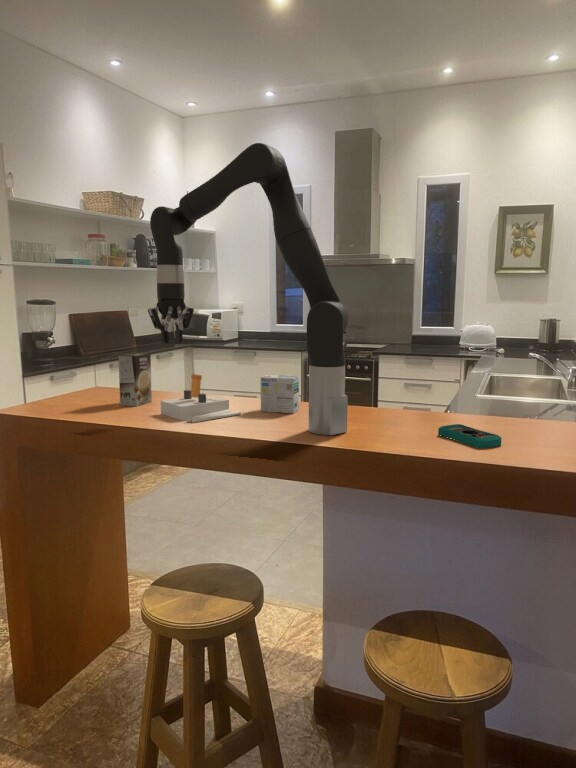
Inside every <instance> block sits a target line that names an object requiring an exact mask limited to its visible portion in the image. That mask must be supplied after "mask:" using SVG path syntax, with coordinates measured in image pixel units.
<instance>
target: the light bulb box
mask: <svg viewBox="0 0 576 768" xmlns="http://www.w3.org/2000/svg"><path fill="white" fill-rule="evenodd" d="M299 409H300V376H299V375H287V374H286V375H285V374H265V375H262V376H260V412H261V411H267V412H266V413H276V412H282V413H281V414H295V413H296V412H297V411H299Z"/></svg>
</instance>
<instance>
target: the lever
mask: <svg viewBox="0 0 576 768" xmlns="http://www.w3.org/2000/svg"><path fill="white" fill-rule="evenodd" d="M202 378H203V377H202V375H201V374H197V373H195V374H193V373H192V374H191V386H190V387H191V388H190V391H191V397H195V398H198V394H201V385H202V383H201V382H202V380H203V379H202Z"/></svg>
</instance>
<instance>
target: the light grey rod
mask: <svg viewBox="0 0 576 768" xmlns="http://www.w3.org/2000/svg"><path fill="white" fill-rule="evenodd" d="M241 415H242V412H241V410H237V411H230V412H229V413H223V414H217V415H210V416H204V417H198V418H192V423H194V424H195V423H201V422H205V421H211V420H216V419H217V420H218V419H223V418H230V417H235V416H241Z"/></svg>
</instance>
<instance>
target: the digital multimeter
mask: <svg viewBox="0 0 576 768" xmlns="http://www.w3.org/2000/svg"><path fill="white" fill-rule="evenodd" d="M437 430H438V433H437V435H438V436H439V435H441V436H440V437H442V436H444V437H443V438H445V437H448V438H452V439H455V440H458V441H460V442H459V443H461V442H463V443H462V444H464V443H466V444H465V445H467V444H469V445H468V446H470V445H471V446H470V447H473V446H474V448H476V447H477V449H489V447H490V448H495V446H496V447H500V446H502V436H500V435H498V434H495V433H492V432H488V431H484V430H480V429H478V428H473V427H471V426H467V425H464V424H461V423H455V424H447V425H441V426H439V427H438V429H437ZM448 438H447V439H448ZM452 439H451V440H452ZM455 440H454V441H455ZM458 441H457V442H458Z"/></svg>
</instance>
